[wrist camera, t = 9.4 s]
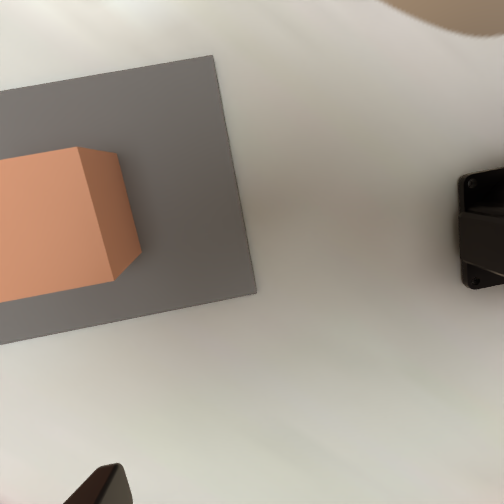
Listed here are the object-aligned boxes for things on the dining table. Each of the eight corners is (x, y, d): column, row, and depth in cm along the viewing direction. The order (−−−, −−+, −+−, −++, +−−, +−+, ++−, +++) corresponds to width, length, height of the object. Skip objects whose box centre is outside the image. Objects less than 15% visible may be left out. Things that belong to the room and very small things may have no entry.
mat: (212, 57, 17) (212, 55, 17) (256, 291, 20) (256, 293, 20) (-133, 115, 16) (-139, 115, 16) (-38, 350, 19) (-42, 353, 19)
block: (116, 153, 17) (76, 146, 13) (141, 252, 19) (114, 280, 14) (12, 171, 17) (-70, 171, 12) (44, 270, 18) (-19, 306, 14)
